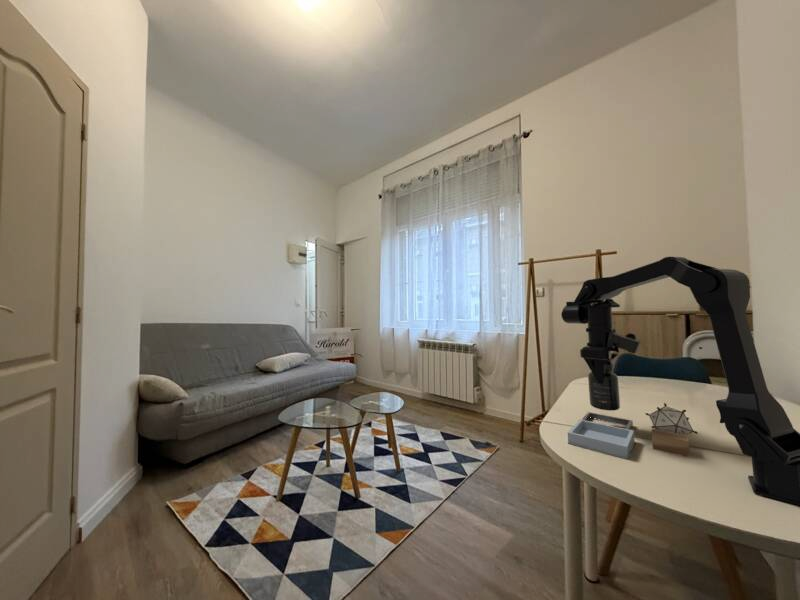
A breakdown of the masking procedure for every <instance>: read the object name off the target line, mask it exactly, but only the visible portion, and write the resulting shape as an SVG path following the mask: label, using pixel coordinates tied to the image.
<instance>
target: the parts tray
mask: <svg viewBox="0 0 800 600" xmlns="http://www.w3.org/2000/svg"><path fill="white" fill-rule="evenodd" d="M635 440H636V439H635V430H633V429H631V430H628V429H626V428H622V427H619V426H613V425H608V424H603V423H599V422H593V421H590V420H588V421H585V420H581V419H579V420H578V421H577V422H576V423H575V424H574V425H573V426H572V428H570V429H569V430H568V431H567V444H568V445H573V446H576V447H580V448H584V449H587V450H591V451H595V452H599V453H602V454H606V455H610V456H614V457H617V458H622V459H625V460H628V459H629V457H630V456H631V452H632V450H633V447H634V445H635Z"/></svg>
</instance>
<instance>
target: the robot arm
mask: <svg viewBox="0 0 800 600" xmlns="http://www.w3.org/2000/svg"><path fill="white" fill-rule="evenodd" d="M668 278H671V279H672V280H673V281H676V282H677V283H678V284H679V285H682V286H684V287H688V288H689V290H690V292H691V294H692V295H693V298H694V300H695V301H696V303H697V304H698V305H699V306H700V308H701V309H702V310H703V311H704V312H705V313H706V314H707V315H708V317H709V320H710V324H711V328H712V332H713V335H714V339H715V343H716V347H717V351H718V354H719V359H720V361H721V365H722V369H723V372H724V376H725V380H726V385H727V388H728V394H727V396H726V398H721V399H717V400H715V403H716V404H715V405H716V407H717V409H718V412H719V414H720V415H719V416H720V417H719V418H720V419H719V423H720V424H724V426H725V429H726V431H727V432H728V434H730V436H733V437H734V439H735V441H736V443H737V445H738V446H739V448H740V451H741V452H742V454H743V455H746V456H748V457H751V462H752V463H751V464H752V465H751V467H752V475H748V476H747V479H748V481H749V485H750V487H751V490H752V492H753V493H754V494H756V495H760V496H763V497H765V498H766V497H767V498H770V499H774V500H779V501H782V502H786V503H788V504H789V503H790V504H794V505H796V506H797V505H798V506H800V432H798V431H797V430H796V429H795V428H794V427H793V426H794V425H793V424H792V421H791V420H790V418H789V416H788V415H787V412H786V411H785V409H784V407H783V406H782V405H781V404H780V402H778V400H777V399H776V398H775V397H774V396H773V395H772V394H771V392H770V391H769V389H768V386H767V384H766V381H765V376H764V373H763V368H762V366H761V362H760V358H759V356H758V352H757V349H756V346H755V342H754V338H753V335H752V331H751V328H750V324H749V321H748V318H747V314H746V313H747V308H748V305H749V302H750V298H751V284H750V279H749V277H748V275H747V274H746V273H745V272H742V271H740V270H737V269H731V268H717V267H715V266H711V265H707V264H703V263H700V262H696V261H693V260H691V259H688V258H686V257H682V256H665V257H663V258H661V259H660V260H657V261H654V262H651V263H648V264H645V265H642V266H640V267H636V268H634V269H631V270H630V269H629V270H628V271H625V272H622V273H619V274H616V275H613V276H605V277H598V278H597V277H596V278H591V279H587V280H585V281H584V282H583V283H582V287H581V289H580V291H579V292H578V294H577V296H576V297H575V299H574V301H566V302H565V303H566V305H565V306H564V307H563V308H562V311H561V319H562V320H563V322H565V323H566V324H577V325H578V324H579V325H580V324H582V325H586V324H587V327H585V330H586V331H585V332H586V333H587V335H588V336H587V337H588V342H586V345H585V346H583V347H582V348H581V349H580V350H579V351H580V358H583V360H584V362H585V363H586V364H587V366H588V368H589V370H590V372H592V373H593V375H594V377H595V379H596V380H597V382H598V383H600V384H603V380H604V374H605V367H606V364H607V363H612V362H613V360H614V359H615V358H616V357H618V356H619V355H620V352H622V351H621V349H622V350H624V351H627V353H630V354H636V353H638V351H639V348H640V346H641V343H642V341H641V340H640V339H637V338H638V337H637V334H635V333H631V332H628V333H627V334H625V335H623V334H620V333H617V332H616V331H617V330H616V328H615V327H614V325H613V313H612V311H613V310H612V308H620V307H621V306H620V305H621V304H619V303H618V302H616V301H615V300H614V298H615V297H617V296H620V294H622V292H624V291H626V290H629V289H632V288H635V287H639V286H643V285H646V284H651V283H653V282H657V281H661V280H664V279H668ZM614 352H616V353H614ZM612 364H613V363H612Z"/></svg>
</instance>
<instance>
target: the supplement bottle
mask: <svg viewBox="0 0 800 600" xmlns="http://www.w3.org/2000/svg"><path fill="white" fill-rule="evenodd" d="M613 371H614V368H613V363H607V364H606V367H605V374H604V380H603V384H600V383H598V382H597V380H596V379H595V377H594V375H593V373H592V371H590V372H589V373H588V375H587V380H588V392H589V393H588V395H589V403H590V405H591V407H593V408H595V409H598V410H603V411H613V412H614V411H618V410H620V408H621V400H620V398H621V397H620V387H619V377H618V375H617V374H616V373H614V372H613Z"/></svg>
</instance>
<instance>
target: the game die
mask: <svg viewBox="0 0 800 600" xmlns="http://www.w3.org/2000/svg"><path fill="white" fill-rule="evenodd" d="M656 409H657V410H655V411H653V412H651V413H650V414H649V413H647V412H646V413H645V415H646V416H649V420H650V421H651V423H652V426H651V429H657V430H662V431H667V432H673V433H678V434H684V435H687V436H688V435H690V434H693V433H694V434H696V435H697V434H699V432H698V431H696V430H694V429H693V427H692V426H691V423H690V421H689V419H690V417H688V416H686V414H685V413H686V412H687V409H683V410H682V411H681V410H679V409H676V408H673V407H669V406H668V405H667V403H665V402H664V403H663V407H659V406H657V407H656Z"/></svg>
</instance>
